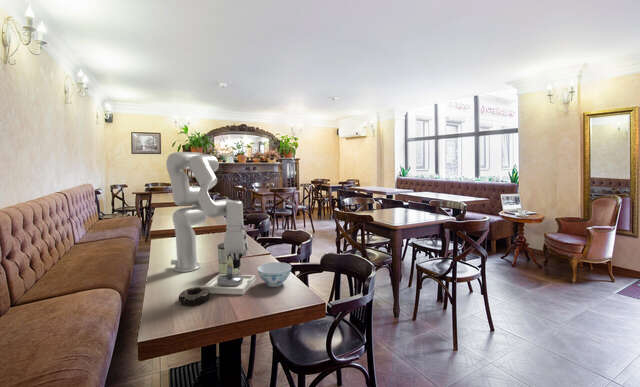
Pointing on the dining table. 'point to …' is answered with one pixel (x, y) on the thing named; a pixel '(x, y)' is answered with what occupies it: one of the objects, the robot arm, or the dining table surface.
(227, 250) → the robot arm
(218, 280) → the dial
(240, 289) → the white square tray
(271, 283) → the chinaware
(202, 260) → the dining table surface
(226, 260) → the coffee can
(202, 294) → the donut
